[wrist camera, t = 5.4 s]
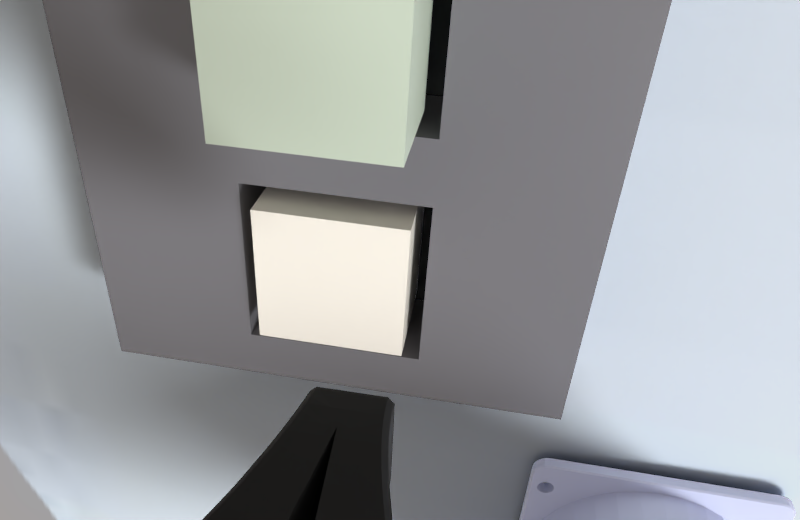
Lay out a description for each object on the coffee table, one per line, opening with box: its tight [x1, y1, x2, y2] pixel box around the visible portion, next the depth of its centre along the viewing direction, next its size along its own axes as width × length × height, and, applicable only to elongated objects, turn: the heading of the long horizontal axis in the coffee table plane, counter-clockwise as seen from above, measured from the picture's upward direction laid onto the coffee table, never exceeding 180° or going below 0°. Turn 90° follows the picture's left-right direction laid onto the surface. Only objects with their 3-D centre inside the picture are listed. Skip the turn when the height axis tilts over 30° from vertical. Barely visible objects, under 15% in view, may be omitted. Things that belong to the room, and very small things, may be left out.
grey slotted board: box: [42, 0, 672, 419], centre depth 14 cm, size 19×12×2 cm, turn 177°
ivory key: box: [250, 187, 424, 356], centre depth 17 cm, size 4×4×3 cm
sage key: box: [190, 0, 433, 168], centre depth 12 cm, size 4×4×3 cm
